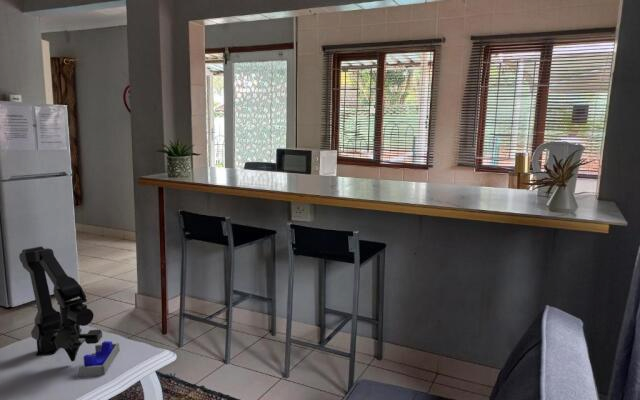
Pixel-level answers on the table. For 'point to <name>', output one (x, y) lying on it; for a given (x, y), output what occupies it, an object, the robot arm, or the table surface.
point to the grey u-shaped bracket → (102, 368)
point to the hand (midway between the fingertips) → (73, 360)
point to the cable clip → (99, 355)
